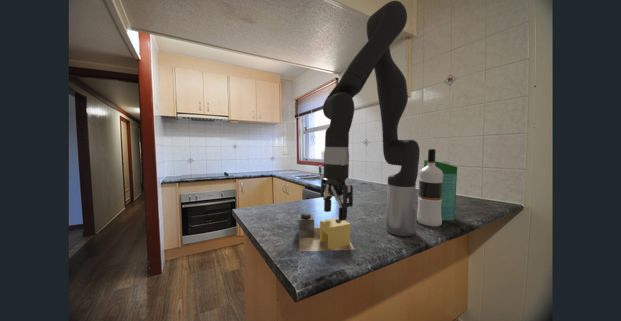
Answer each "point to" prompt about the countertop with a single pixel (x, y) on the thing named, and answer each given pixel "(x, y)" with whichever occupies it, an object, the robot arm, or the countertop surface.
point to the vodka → (430, 193)
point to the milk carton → (447, 188)
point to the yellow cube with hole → (335, 232)
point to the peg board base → (313, 235)
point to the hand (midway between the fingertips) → (334, 215)
